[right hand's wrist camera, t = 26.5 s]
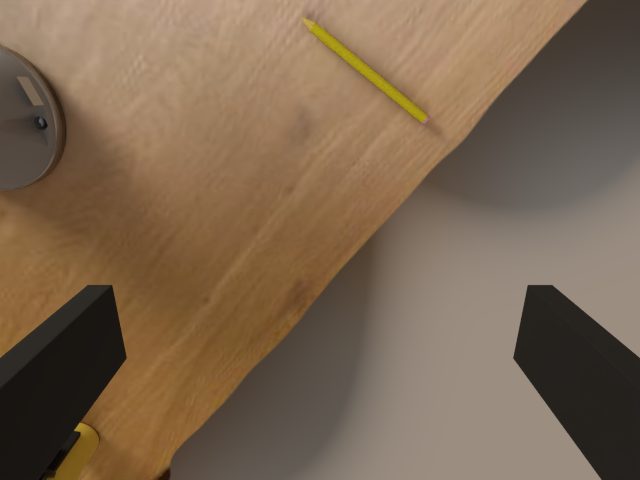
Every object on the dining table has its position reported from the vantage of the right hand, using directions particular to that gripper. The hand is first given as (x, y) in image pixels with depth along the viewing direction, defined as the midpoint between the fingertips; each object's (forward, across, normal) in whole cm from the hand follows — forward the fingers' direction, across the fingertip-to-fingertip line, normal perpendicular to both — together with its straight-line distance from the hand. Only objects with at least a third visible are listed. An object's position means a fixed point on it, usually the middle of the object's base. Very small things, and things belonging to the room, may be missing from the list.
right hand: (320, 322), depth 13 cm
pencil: (+34, +5, +9) cm, 36 cm away
